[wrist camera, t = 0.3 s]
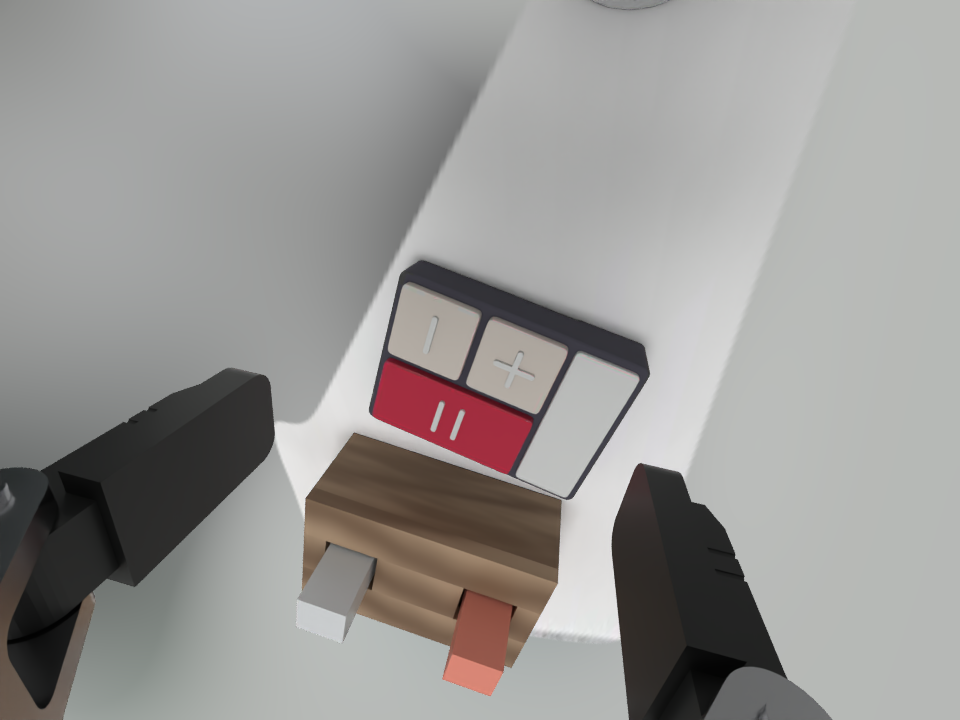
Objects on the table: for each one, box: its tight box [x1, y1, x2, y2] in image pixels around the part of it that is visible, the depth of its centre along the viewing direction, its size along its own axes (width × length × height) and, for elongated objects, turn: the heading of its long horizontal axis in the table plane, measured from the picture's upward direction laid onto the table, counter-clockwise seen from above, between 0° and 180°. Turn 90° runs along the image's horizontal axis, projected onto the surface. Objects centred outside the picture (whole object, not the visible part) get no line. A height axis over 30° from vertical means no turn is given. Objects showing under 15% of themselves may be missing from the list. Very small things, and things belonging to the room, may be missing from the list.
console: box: [302, 433, 561, 668], centre depth 33 cm, size 11×17×7 cm, turn 77°
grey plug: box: [296, 543, 377, 643], centre depth 30 cm, size 3×3×7 cm
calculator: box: [369, 260, 650, 500], centre depth 28 cm, size 11×4×15 cm
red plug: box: [443, 589, 513, 696], centre depth 30 cm, size 3×3×7 cm
